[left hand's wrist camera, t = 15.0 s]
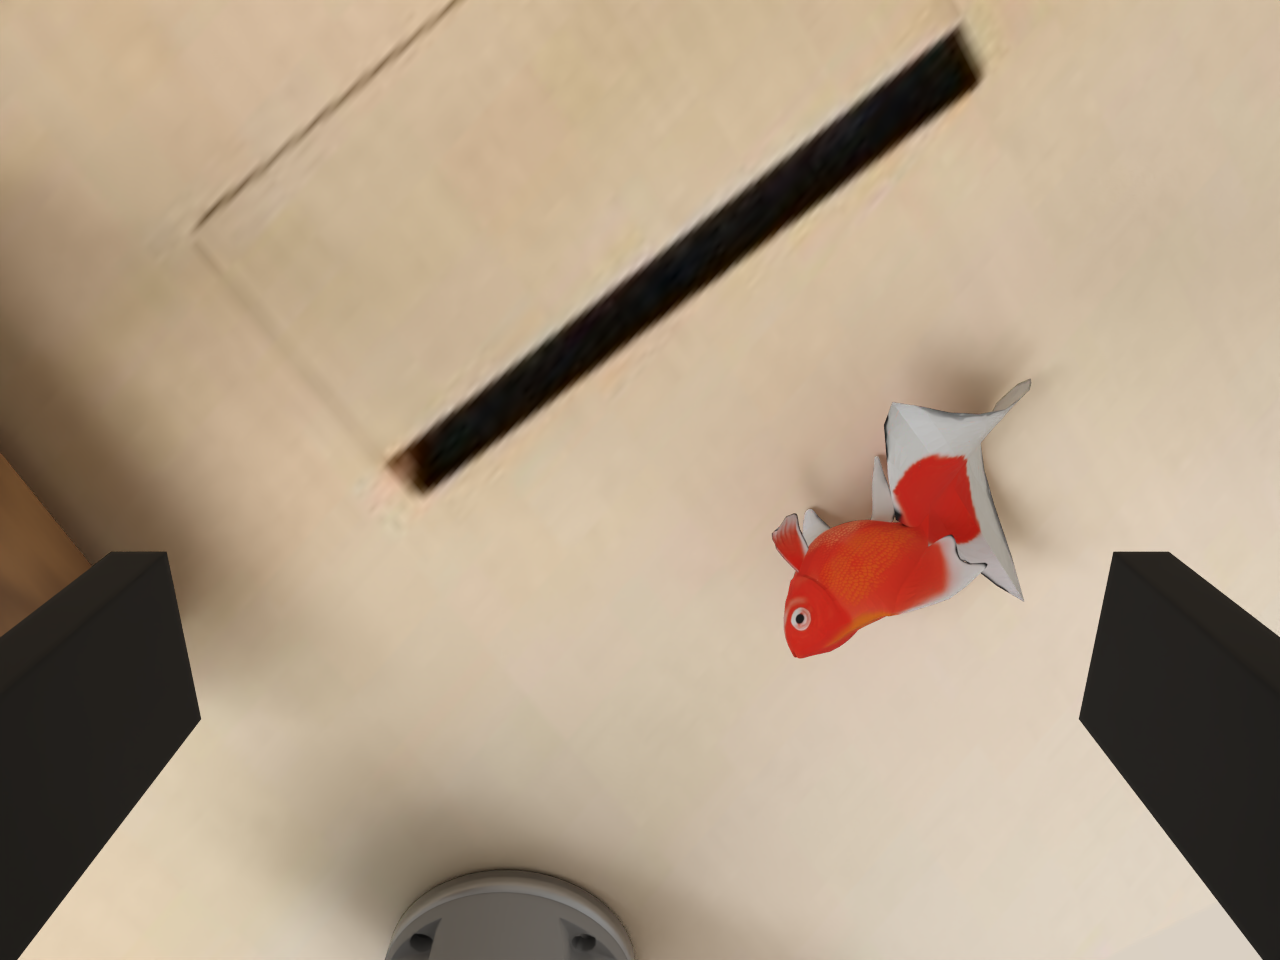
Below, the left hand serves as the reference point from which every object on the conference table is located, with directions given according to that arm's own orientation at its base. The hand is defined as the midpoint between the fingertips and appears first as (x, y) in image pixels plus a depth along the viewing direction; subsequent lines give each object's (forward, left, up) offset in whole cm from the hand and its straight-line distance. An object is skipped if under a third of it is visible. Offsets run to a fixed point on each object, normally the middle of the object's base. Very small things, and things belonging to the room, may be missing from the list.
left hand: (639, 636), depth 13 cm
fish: (-9, -12, -30) cm, 34 cm away
